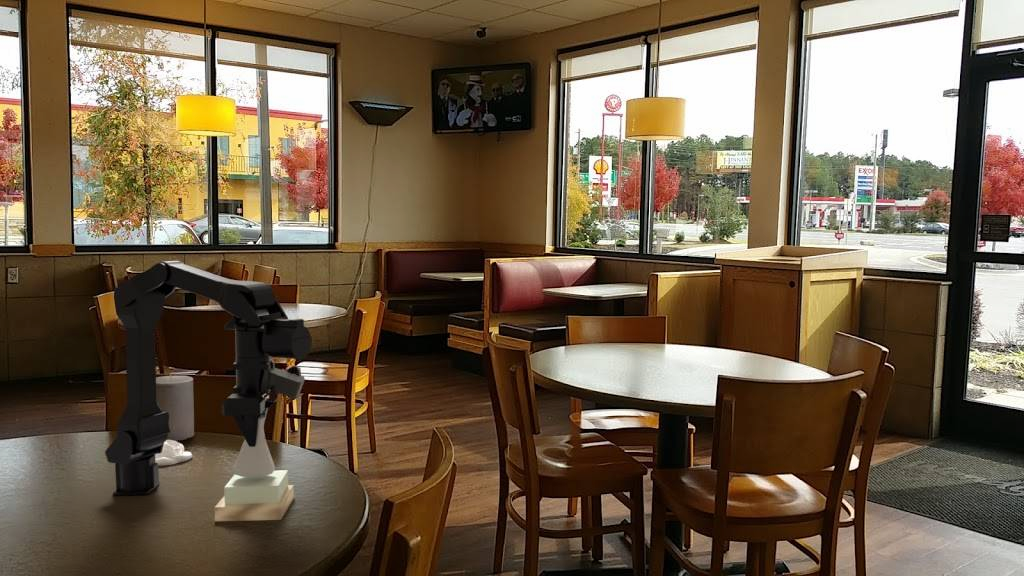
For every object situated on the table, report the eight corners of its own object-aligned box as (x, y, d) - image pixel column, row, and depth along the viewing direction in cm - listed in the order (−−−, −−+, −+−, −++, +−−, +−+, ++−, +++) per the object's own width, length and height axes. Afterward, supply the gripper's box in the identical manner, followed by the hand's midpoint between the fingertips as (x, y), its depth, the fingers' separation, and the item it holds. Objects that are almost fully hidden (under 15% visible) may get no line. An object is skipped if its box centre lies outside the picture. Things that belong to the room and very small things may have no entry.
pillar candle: (141, 441, 188) (139, 376, 186) (165, 430, 197) (164, 369, 196) (180, 443, 186) (178, 378, 185) (202, 432, 196) (201, 370, 194)
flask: (260, 481, 139) (263, 423, 138) (223, 475, 140) (225, 418, 140) (282, 469, 146) (285, 414, 145) (246, 464, 147) (248, 409, 147)
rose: (147, 435, 177) (195, 433, 179) (148, 455, 177) (195, 452, 179) (138, 448, 167) (188, 445, 169) (138, 469, 167) (189, 466, 170)
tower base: (215, 524, 138) (214, 507, 137) (232, 502, 148) (232, 486, 148) (281, 522, 138) (280, 505, 138) (293, 501, 149) (293, 485, 149)
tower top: (224, 504, 139) (224, 487, 138) (237, 487, 147) (236, 471, 147) (278, 502, 139) (278, 485, 139) (288, 486, 148) (287, 470, 148)
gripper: (289, 364, 133) (291, 458, 134) (309, 346, 151) (310, 429, 152) (219, 365, 132) (222, 459, 133) (248, 347, 150) (249, 430, 152)
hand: (254, 443), depth 143 cm, fingers closed on flask, 3 cm apart
